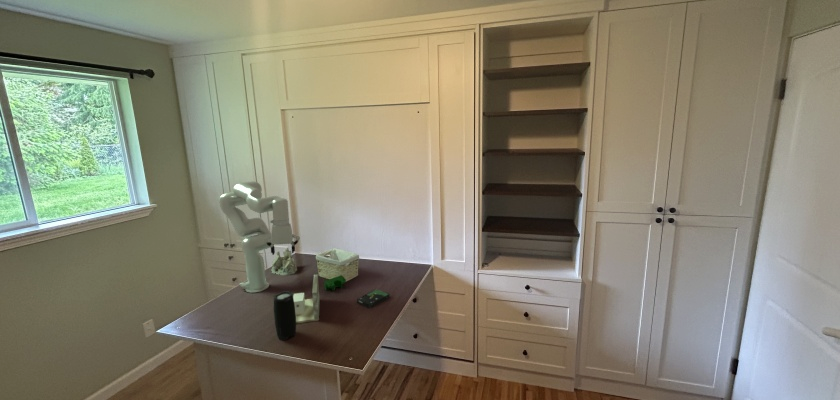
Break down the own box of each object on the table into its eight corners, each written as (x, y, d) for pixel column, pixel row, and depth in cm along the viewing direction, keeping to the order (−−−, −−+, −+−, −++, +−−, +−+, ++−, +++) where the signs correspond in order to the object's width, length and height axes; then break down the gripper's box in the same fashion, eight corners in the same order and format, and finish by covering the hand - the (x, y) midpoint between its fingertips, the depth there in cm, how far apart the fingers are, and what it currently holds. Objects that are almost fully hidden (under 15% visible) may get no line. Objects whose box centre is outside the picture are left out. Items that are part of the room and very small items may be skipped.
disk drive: (370, 309, 173) (390, 298, 184) (370, 304, 172) (390, 293, 184) (357, 303, 179) (376, 293, 191) (356, 298, 179) (376, 288, 190)
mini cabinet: (293, 316, 164) (291, 303, 163) (295, 306, 174) (293, 293, 172) (303, 314, 165) (302, 301, 164) (305, 305, 175) (304, 292, 173)
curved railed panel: (276, 326, 157) (273, 297, 154) (282, 304, 178) (279, 278, 175) (318, 320, 162) (316, 292, 159) (319, 299, 183) (317, 274, 180)
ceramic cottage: (272, 267, 227) (271, 247, 224) (298, 266, 232) (297, 245, 228) (269, 278, 213) (267, 256, 209) (296, 276, 217) (295, 254, 214)
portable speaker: (288, 327, 156) (285, 288, 152) (301, 333, 151) (298, 293, 147) (271, 336, 149) (267, 296, 145) (285, 343, 144) (281, 301, 140)
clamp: (331, 298, 193) (327, 288, 188) (326, 292, 197) (321, 282, 191) (348, 285, 199) (344, 275, 194) (343, 280, 203) (339, 270, 197)
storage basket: (315, 276, 213) (314, 254, 210) (335, 268, 226) (334, 247, 224) (342, 285, 200) (340, 262, 197) (361, 276, 213) (360, 253, 210)
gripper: (261, 225, 169) (264, 257, 172) (298, 223, 173) (299, 254, 177) (264, 221, 176) (267, 251, 180) (299, 219, 180) (301, 249, 184)
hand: (283, 253), depth 178 cm, fingers open, 9 cm apart
